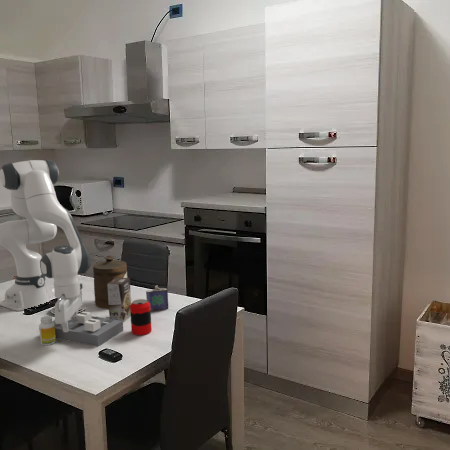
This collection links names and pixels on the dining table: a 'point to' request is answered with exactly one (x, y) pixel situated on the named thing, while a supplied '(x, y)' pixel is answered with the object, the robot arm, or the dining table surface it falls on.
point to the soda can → (140, 317)
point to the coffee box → (119, 299)
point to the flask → (157, 298)
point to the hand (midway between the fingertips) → (70, 326)
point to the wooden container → (106, 278)
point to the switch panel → (88, 337)
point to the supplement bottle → (47, 331)
